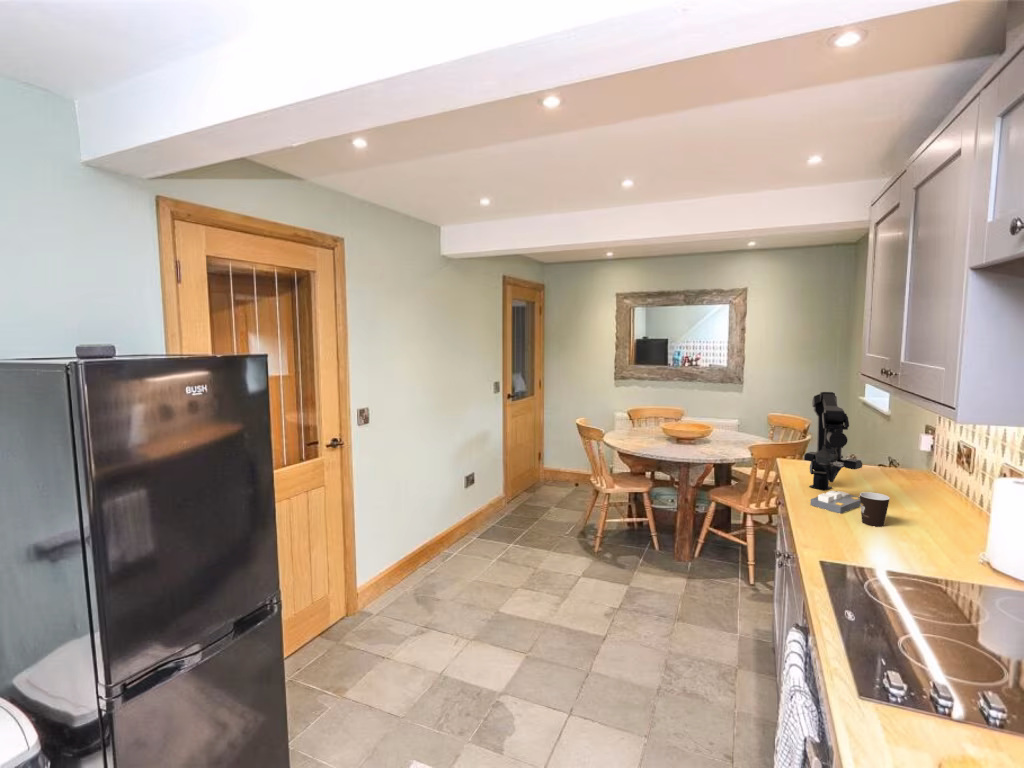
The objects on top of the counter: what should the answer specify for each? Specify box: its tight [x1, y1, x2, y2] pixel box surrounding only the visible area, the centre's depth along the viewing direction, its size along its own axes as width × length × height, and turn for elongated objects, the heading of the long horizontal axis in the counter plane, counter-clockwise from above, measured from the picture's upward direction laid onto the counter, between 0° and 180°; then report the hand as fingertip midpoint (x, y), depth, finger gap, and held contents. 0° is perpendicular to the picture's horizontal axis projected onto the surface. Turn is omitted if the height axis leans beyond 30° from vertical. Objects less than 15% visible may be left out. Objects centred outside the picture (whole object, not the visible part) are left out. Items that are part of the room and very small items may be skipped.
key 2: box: [837, 490, 850, 497], centre depth 203 cm, size 4×4×3 cm
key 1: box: [817, 492, 834, 503], centre depth 197 cm, size 4×4×3 cm
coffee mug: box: [859, 491, 891, 528], centre depth 181 cm, size 12×9×10 cm
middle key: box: [825, 490, 842, 500], centre depth 200 cm, size 4×4×3 cm
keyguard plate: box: [810, 490, 861, 515], centre depth 199 cm, size 18×11×3 cm, turn 121°
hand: (831, 482), depth 197 cm, fingers closed
